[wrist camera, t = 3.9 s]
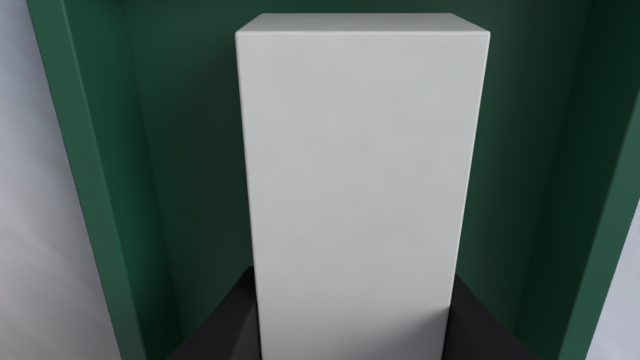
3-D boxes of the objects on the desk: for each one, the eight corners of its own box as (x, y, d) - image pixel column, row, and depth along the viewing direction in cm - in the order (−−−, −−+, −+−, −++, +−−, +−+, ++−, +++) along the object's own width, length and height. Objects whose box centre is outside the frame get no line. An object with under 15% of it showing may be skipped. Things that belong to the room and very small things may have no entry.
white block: (453, 12, 11) (491, 31, 8) (404, 438, 17) (417, 528, 14) (259, 13, 11) (233, 30, 8) (284, 434, 17) (274, 522, 15)
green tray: (639, -99, 11) (748, -119, 8) (502, 438, 20) (531, 521, 17) (80, -94, 11) (-6, -111, 9) (185, 429, 20) (160, 509, 17)
